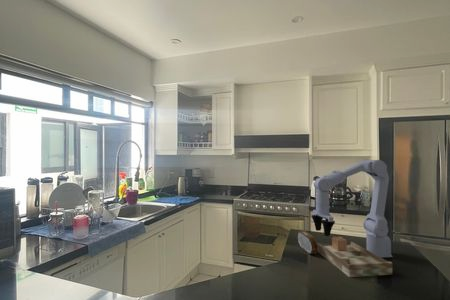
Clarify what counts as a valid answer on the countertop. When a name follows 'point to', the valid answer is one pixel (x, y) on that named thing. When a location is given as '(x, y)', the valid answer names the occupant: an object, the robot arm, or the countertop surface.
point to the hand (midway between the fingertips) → (322, 233)
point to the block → (339, 243)
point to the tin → (307, 242)
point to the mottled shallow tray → (356, 260)
